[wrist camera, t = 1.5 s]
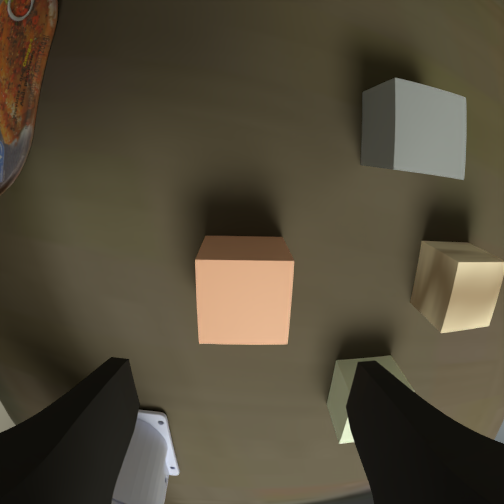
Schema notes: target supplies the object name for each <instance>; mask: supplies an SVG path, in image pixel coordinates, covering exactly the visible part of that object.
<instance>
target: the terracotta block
mask: <svg viewBox="0 0 504 504" xmlns="http://www.w3.org/2000/svg"><path fill="white" fill-rule="evenodd" d="M195 270H196V295H197V315H198V332H199V343H200V344H247V345H264V344H288V333H289V322H290V311H291V299H292V286H293V273H294V259H293V257H292V255H291V253H290V251H289V249H288V247H287V245H286V243H285V241H284V239H283V237H262V236H205V238H204V240H203V242H202V245H201V247H200V249H199V252H198V254H197V256H196V259H195Z"/></svg>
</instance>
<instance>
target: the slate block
mask: <svg viewBox="0 0 504 504" xmlns="http://www.w3.org/2000/svg"><path fill="white" fill-rule="evenodd" d="M465 158H466V97H463V96H460V95H457V94H454V93H451V92H447V91H444V90H441V89H437V88H434V87H430V86H427V85H423V84H419V83H416V82H412V81H408V80H404V79H399V78H393V79H390V80H388V81H386V82H384V83H381V84H379V85H377V86H375V87H372V88H370V89H368V90H366V91H364V92H362V145H361V165H364V166H372V167H380V168H387V169H394V170H402V171H409V172H417V173H424V174H430V175H437V176H443V177H450V178H455V179H461V180H464V174H465Z"/></svg>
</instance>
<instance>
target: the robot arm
mask: <svg viewBox="0 0 504 504" xmlns="http://www.w3.org/2000/svg"><path fill="white" fill-rule="evenodd" d="M139 406H140V403H139V400H138V396H137V392H136V388H135V384H134V380H133V376H132V372H131V367H130V363H129V359H123V358H114V357H111V358H110V359H108V360H107V361H106V362H104V363H103V364H102V365H101V366H100V367H98V368H97V369H96V370H95V371H93V372H92V373H91V374H90V375H89V376H87V377H86V378H85V379H84V380H82V381H81V382H80V383H79V384H77V385H76V386H75V387H74V388H72V389H71V390H70V391H69V392H67V393H66V394H65V395H63V396H62V397H60V398H59V399H58V400H56V401H55V402H54V403H52V404H51V405H49V406H48V407H47V408H45V409H44V410H42V411H41V412H39V413H37V414H36V415H34V416H33V417H31V418H29V419H27V420H25V421H24V422H22V423H20V424H18V425H16V426H14V427H12V428H10V429H8V430H6V431H4V432H1V433H0V504H164V502H165V496H166V490H167V484H168V478H169V475H179V472H180V471H179V467H178V463H177V459H176V455H175V451H174V447H173V443H172V438H171V434H170V429H169V425H168V420H167V416H166V415H165V414H164V413H162V412H156V411H147V410H139ZM346 410H347V416H348V421H349V425H350V430H351V433H352V436H353V439H354V442H355V445H356V448H357V451H358V453H359V456H360V459H361V462H362V464H363V467H364V470H365V473H366V476H367V478H368V481H369V484H370V488H371V491H372V495H373V500H374V504H504V444H503V443H500V442H497V441H495V440H493V439H490V438H488V437H486V436H483V435H481V434H479V433H477V432H475V431H473V430H471V429H469V428H467V427H465V426H463V425H462V424H460V423H458V422H456V421H454V420H453V419H451V418H450V417H448V416H446V415H445V414H443V413H442V412H441V411H439V410H438V409H436V408H435V407H433V406H432V405H430V404H429V403H428V402H426V401H425V400H424V399H422V398H421V397H420V396H418V395H417V394H416V393H415V392H413V391H412V390H411V389H410V388H408V387H407V386H406V385H405V384H404V383H402V382H401V381H400V380H399V379H397V378H396V377H395V376H394V375H393V374H391V373H390V372H389V371H388V370H387V369H385V368H384V367H383V366H382V365H381V364H379V363H378V362H377V361H375V360H373V361H362V362H358V363H357V367H356V371H355V375H354V379H353V382H352V386H351V390H350V393H349V397H348V400H347V404H346ZM162 421H163V422H162Z"/></svg>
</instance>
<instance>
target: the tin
mask: <svg viewBox="0 0 504 504" xmlns="http://www.w3.org/2000/svg"><path fill="white" fill-rule="evenodd" d="M57 15H58V0H0V195H1V194H3V193H4V192H5V191H6V190H7V189H8V188H9V187H10V186H11V185H12V183H13V182H14V181H15V180H16V178H17V177H18V175H19V173H20V172H21V170H22V168H23V166H24V164H25V162H26V159H27V156H28V154H29V151H30V148H31V144H32V140H33V135H34V128H35V120H36V113H37V107H38V101H39V95H40V90H41V85H42V80H43V75H44V70H45V66H46V62H47V58H48V54H49V50H50V47H51V43H52V39H53V36H54V32H55V28H56V24H57Z"/></svg>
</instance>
